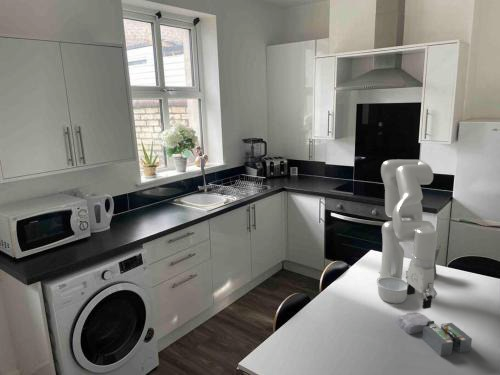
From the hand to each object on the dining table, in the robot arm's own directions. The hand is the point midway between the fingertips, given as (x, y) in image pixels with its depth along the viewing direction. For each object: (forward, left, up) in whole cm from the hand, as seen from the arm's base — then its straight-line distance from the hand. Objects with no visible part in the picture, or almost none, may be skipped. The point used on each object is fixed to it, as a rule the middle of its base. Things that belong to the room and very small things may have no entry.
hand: (418, 300), depth 147 cm
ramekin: (-22, +4, -12) cm, 26 cm away
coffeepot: (-38, +32, -12) cm, 51 cm away
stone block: (-2, 0, -12) cm, 12 cm away
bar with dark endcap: (+8, +4, -10) cm, 14 cm away
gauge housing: (+12, +4, -11) cm, 17 cm away
